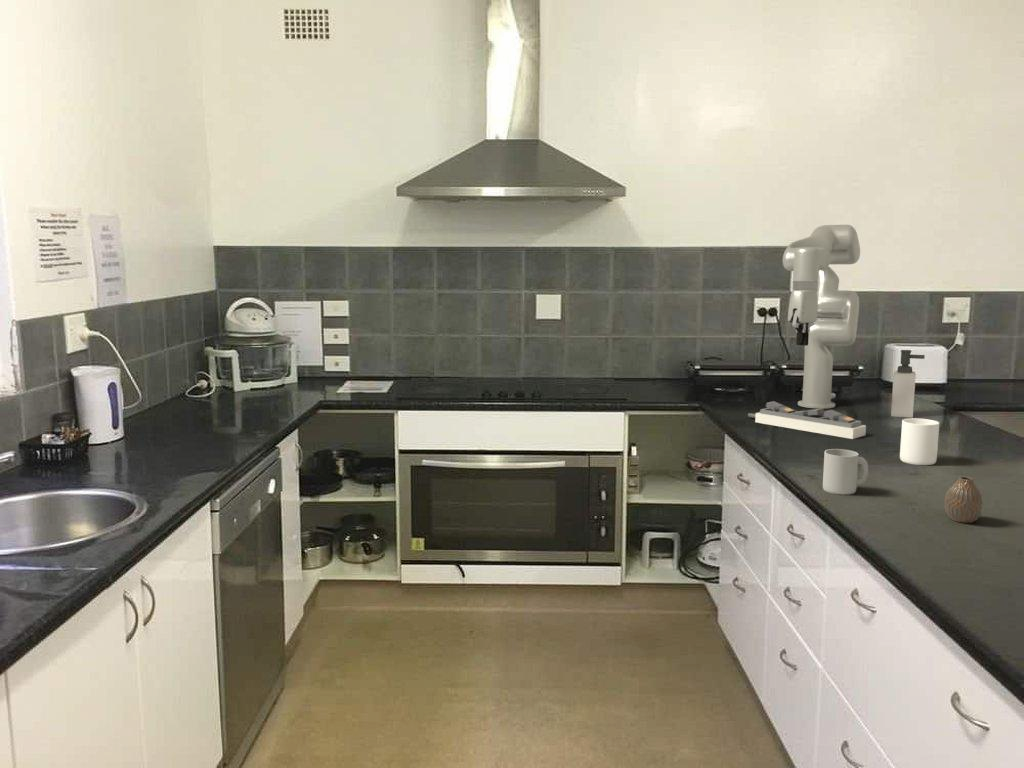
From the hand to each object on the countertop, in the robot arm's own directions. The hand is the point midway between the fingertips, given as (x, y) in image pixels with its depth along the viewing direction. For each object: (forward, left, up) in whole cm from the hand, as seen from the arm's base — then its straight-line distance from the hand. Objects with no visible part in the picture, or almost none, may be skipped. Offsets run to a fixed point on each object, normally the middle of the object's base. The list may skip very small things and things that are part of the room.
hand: (802, 345), depth 252 cm
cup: (+60, +48, -26) cm, 80 cm away
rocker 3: (+5, +16, -20) cm, 26 cm away
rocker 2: (+5, +6, -20) cm, 22 cm away
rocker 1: (+5, -4, -20) cm, 21 cm away
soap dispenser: (-38, +17, -26) cm, 49 cm away
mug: (+20, +46, -26) cm, 56 cm away
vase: (+62, +74, -26) cm, 99 cm away
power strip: (+5, +4, -25) cm, 26 cm away
